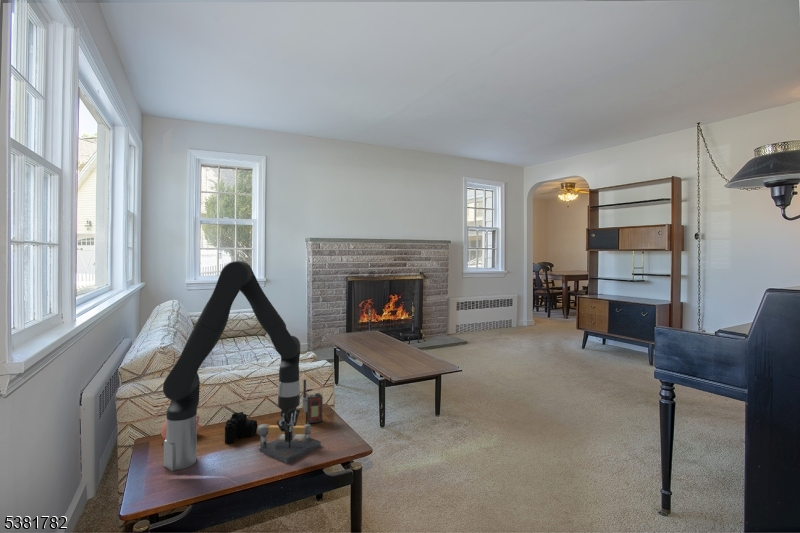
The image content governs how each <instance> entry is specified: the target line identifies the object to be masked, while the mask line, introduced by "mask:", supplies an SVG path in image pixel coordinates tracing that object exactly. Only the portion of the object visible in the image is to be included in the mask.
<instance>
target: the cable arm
mask: <svg viewBox="0 0 800 533" xmlns="http://www.w3.org/2000/svg"><path fill="white" fill-rule="evenodd" d="M311 427H312V425H311V423H310V424H309V423H307V424H306V423H305V424H304V425H297V424H296V426H294V429H293V430H292V434H306V435H308V436H309V435H310V434H311V432H312V430H311V429H312V428H311ZM280 434H285V432H282V431H281V430H280V428H279V426H278V425H277V424H276V425H273V424H269V423H262V424H259V425H257V435H258V436H260V435H267V436H268V435H280Z"/></svg>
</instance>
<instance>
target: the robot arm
mask: <svg viewBox="0 0 800 533" xmlns="http://www.w3.org/2000/svg"><path fill="white" fill-rule="evenodd" d="M240 292H241V294H242V295H244V297H245V298H246V300H247V302H248V303H249V305H250V307H251V309H252V312H253V313H254V316H255V318H256V320H257V322H259V325H260V326H261V328H263V330H264V331H265V333H266V334H267V335H268V336H269V338H270V340H271V343H272V344H273V346H274V348H275V351H277V353H278V355H279V356H280V365H279V367H278V368H279V369H278V387H277V407H278V408H279V409H280V419H279V420H276V425H278V426H279V428H280V430H281V431H282V432H285V442H290V441H292V430H293V429H294V426H296V425H297V423H298V419H299V416H300V412H301V410H300V409H297V408H298V407H299V406H300V404H301V402H300V401H301V400H300V399H301V397H300V396H301V388H300V387H301V384H300V360H301V359H300V355H301V342H300V340H299V338H298V337H296V336H294V335H291V333H290V332H289V330H288V329H287V324H286V322H285V321H284V319H283V318H282V317H281V315H280V314H279V312H278V310H276V308H275V307H274V306H273V304H272V303H271V302H270V300H269V298H268V297H267V295H266V294H265V293H264V291H263V289H262V287H261V285H260V283H259V281H258V279H257V277H256V274H255V272H254V271H253V269H252V266H251V265H249V264H248V263H247V262H244V261H239V260H237V261H236V260H233V261H230V262H228V263H226V264H225V265H224V266H223V267H222V269H221V271H220V274H219V277H218V278H217V281H216V285H215V287H214V289H213V291H212V294H211V296H210V297H209V299H208V301H207V302H206V304H205V306H204V308H203V310H202V311H201V314H200V315H199V316H198V318H197V320H196V322H195V324H194V326H193V328H192V330H191V333H190V335H189V337H188V338H187V341H186V343H185V344H184V347H183V349H182V352H181V354H180V355H179V358H178V359H177V361H176V362H175V365H174V366H173V367H172V368H171V371H170V372H169V373H168V374H167V376H166V378H165V380H164V382H163V385H162V391H163V395H164V396H165V398H167V399H168V400H170V403H169V405H168V408H167V409H166V420H167V431H166V439H164V440H163V467H165V468H166V469H168V470H169V471H171V472H174V471H176V470H183V469H186V468H189V467H191V466H193V465H194V464H195V463H196V462H197V440H198V439H197V438H198V437H197V436H198V435H197V431H198V430H197V428H198V426H197V415H198V414H197V413H198V407H199V402H200V388H201V387H200V386H201V381H200V380H201V379H200V375H199V373H198V371H199V369H200V368H201V365H202V364H203V362H204V361H205V359H206V358H207V357H208V356H209V355H210V353H211V352H212V351H213V349H214V348H215V347H216V346H217V344H218V343H219V342H220V339H221V337H222V335H223V333H224V332H225V329H226V326H227V325H228V321H229V318H230V314H231V313H230V312H231V308H232V306H233V304H234V301H235V299H236V297H237V296H238V294H239V293H240Z"/></svg>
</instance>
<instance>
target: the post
mask: <svg viewBox="0 0 800 533" xmlns="http://www.w3.org/2000/svg"><path fill="white" fill-rule="evenodd" d="M259 437H260V438H259V439H260V440H259V442H260V444H259V445H257V450H260V446H262V445H265V444H267V443H268V434H267V435H259Z"/></svg>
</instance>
